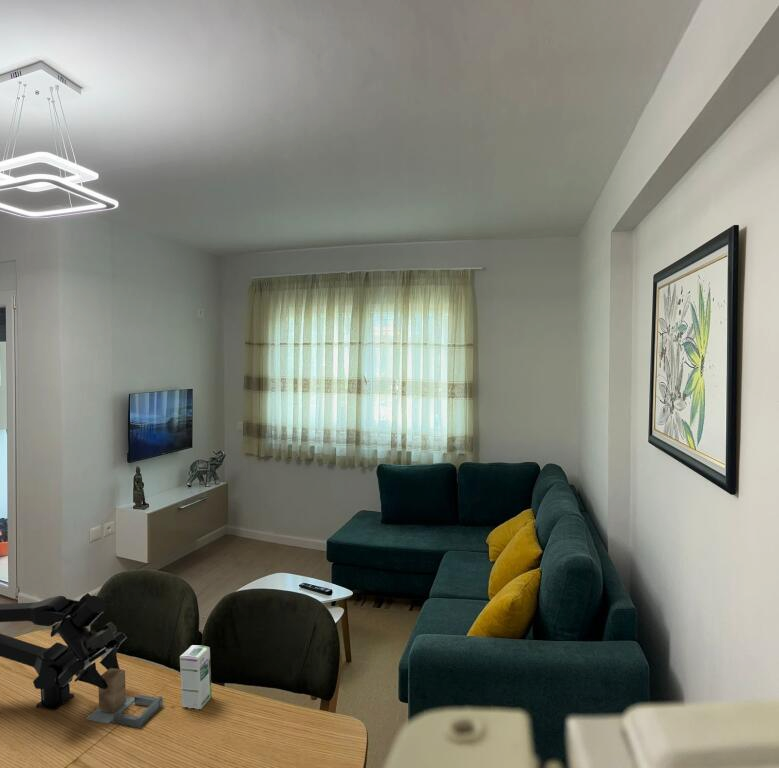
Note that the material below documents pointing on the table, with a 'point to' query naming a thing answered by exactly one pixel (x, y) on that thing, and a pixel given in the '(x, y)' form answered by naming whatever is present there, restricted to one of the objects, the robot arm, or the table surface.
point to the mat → (108, 713)
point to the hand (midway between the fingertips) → (113, 682)
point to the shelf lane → (138, 721)
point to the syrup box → (195, 676)
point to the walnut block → (112, 690)
